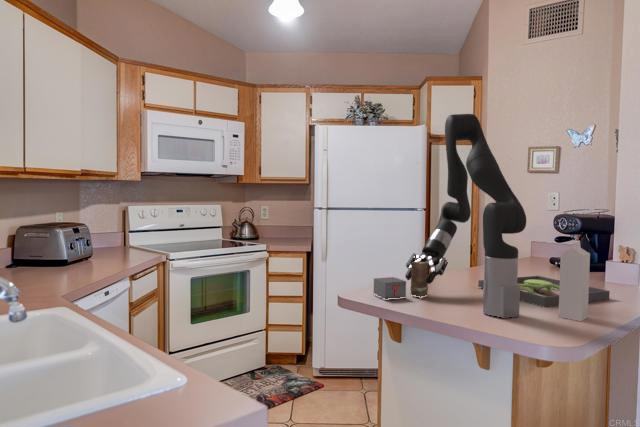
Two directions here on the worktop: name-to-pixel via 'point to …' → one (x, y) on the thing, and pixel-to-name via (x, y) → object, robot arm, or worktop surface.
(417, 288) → the column
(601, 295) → the dark gray tray
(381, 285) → the block
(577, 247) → the milk
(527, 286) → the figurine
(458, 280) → the worktop surface
